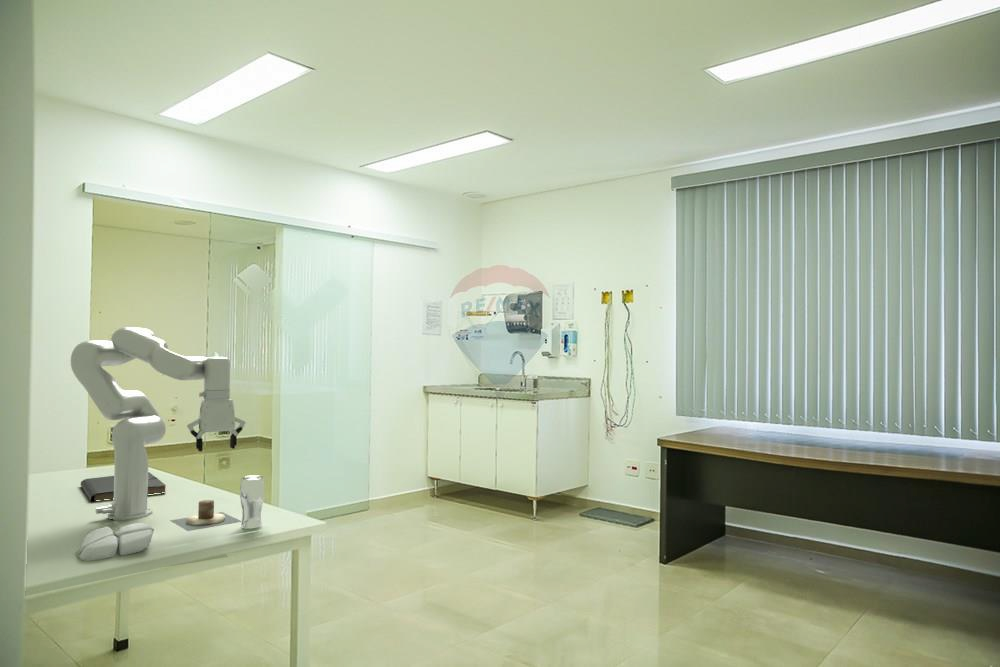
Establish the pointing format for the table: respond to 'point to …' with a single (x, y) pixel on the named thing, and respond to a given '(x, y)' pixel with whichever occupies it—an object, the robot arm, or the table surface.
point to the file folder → (105, 487)
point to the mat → (188, 527)
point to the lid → (205, 515)
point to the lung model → (115, 541)
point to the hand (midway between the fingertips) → (216, 449)
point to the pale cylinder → (251, 501)
